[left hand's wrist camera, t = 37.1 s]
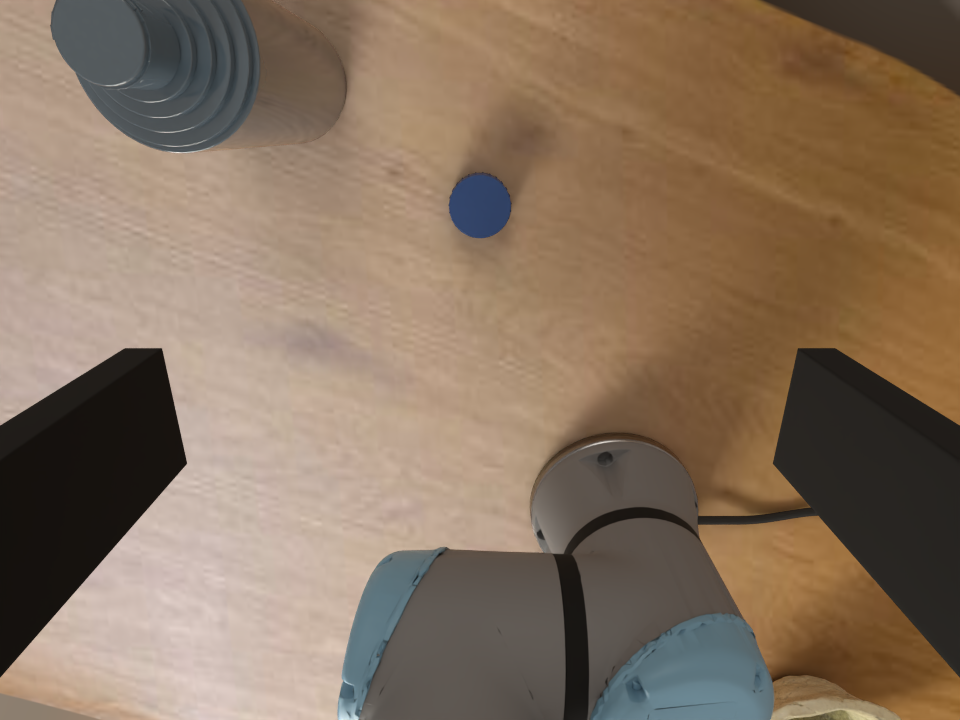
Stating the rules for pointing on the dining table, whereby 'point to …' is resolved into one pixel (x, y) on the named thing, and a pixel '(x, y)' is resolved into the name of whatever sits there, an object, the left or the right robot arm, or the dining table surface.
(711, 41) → the dining table surface
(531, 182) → the dining table surface
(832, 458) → the left robot arm
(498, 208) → the cap
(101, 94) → the bottle
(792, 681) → the bowl
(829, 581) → the dining table surface
